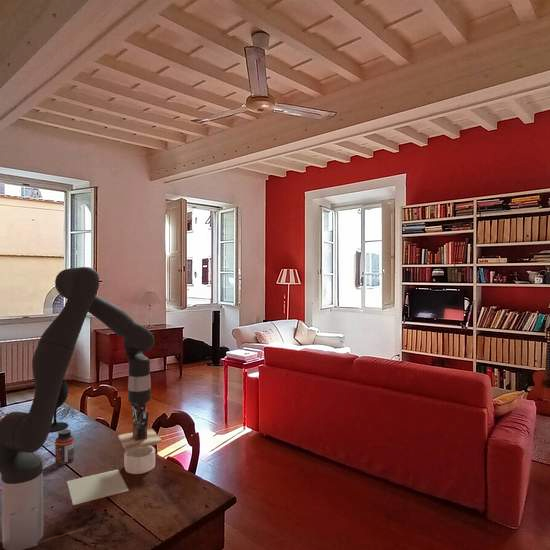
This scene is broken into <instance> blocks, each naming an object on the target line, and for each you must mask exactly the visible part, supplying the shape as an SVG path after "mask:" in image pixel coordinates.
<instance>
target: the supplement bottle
mask: <svg viewBox="0 0 550 550" xmlns="http://www.w3.org/2000/svg"><path fill="white" fill-rule="evenodd" d="M57 432H58V434H57V435H58V436H57V437H56V438H55V445H54V447H55V452H54V453H55V465H57V466H63V465H69V464H72V463H73V461H74V460H75V459H74V458H75V453H74V452H75V446H74V445H75V440H74V436H73V435H72V433H71V432H72V431H71V429H67V428H66V429H64V430H61V431H57Z"/></svg>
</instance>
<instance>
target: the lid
mask: <svg viewBox="0 0 550 550" xmlns="http://www.w3.org/2000/svg"><path fill="white" fill-rule="evenodd" d="M142 424H143V423H142ZM117 438H118V440H119V442H120V443H121V445H122V447H123V448H124V450H125V451H129V450H133V449H138V448H142V447H147V446H155V445H160V444H163V440H162V438H161V437H160V436H159V434H157V432H156V431H155V429H154V428H148V426H147V427H145V438H142V439H139V438H138V422H134V421H133V422H132V432H128V433H122V434H118V435H117Z"/></svg>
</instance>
